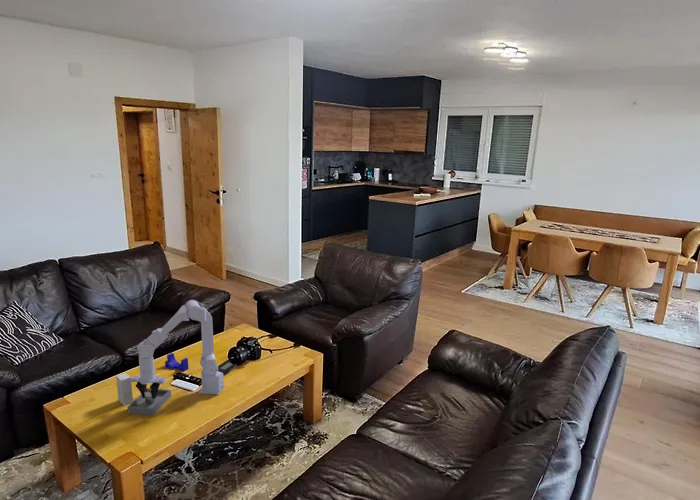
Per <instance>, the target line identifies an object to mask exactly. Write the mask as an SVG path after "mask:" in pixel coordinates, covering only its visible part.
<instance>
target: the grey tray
mask: <svg viewBox="0 0 700 500" xmlns="http://www.w3.org/2000/svg"><path fill="white" fill-rule="evenodd" d="M171 397H172V390H171V389H163V388H158V392H157V397H156V398H155V401H153V402H151V403H146V402H145V398H143V397H142V395H141V394H139V396H137V398H135V399H133V402H131V403H129V405H128V406H127V413H128V414H130V415H131V414H132V415H143V416H155V414H156V413H157V412H158V411H159V410H161V408H162V407H163V406H164V404H165V403H166V402H167V401H168V400H169V399H170V398H171Z"/></svg>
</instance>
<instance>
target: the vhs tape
mask: <svg viewBox="0 0 700 500" xmlns="http://www.w3.org/2000/svg"><path fill="white" fill-rule="evenodd" d="M237 367H238V366H237V364H232V363H231V362H229V360H228V359H227V360H225V361H223V362H222V363H220V364H219V365H218V371H219V372H222V373H223V375H224V377H225V376H226V375H229V373H231V372H232V371H233V370H234V368H235V369H236V368H237Z"/></svg>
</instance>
